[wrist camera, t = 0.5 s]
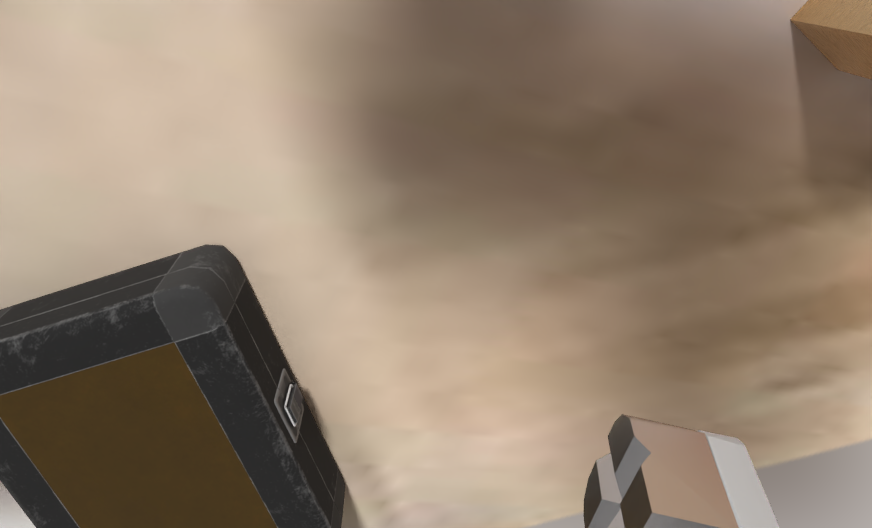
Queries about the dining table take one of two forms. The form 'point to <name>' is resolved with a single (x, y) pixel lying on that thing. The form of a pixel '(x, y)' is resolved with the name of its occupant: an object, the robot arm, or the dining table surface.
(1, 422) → the cash box
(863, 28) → the block
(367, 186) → the dining table surface
